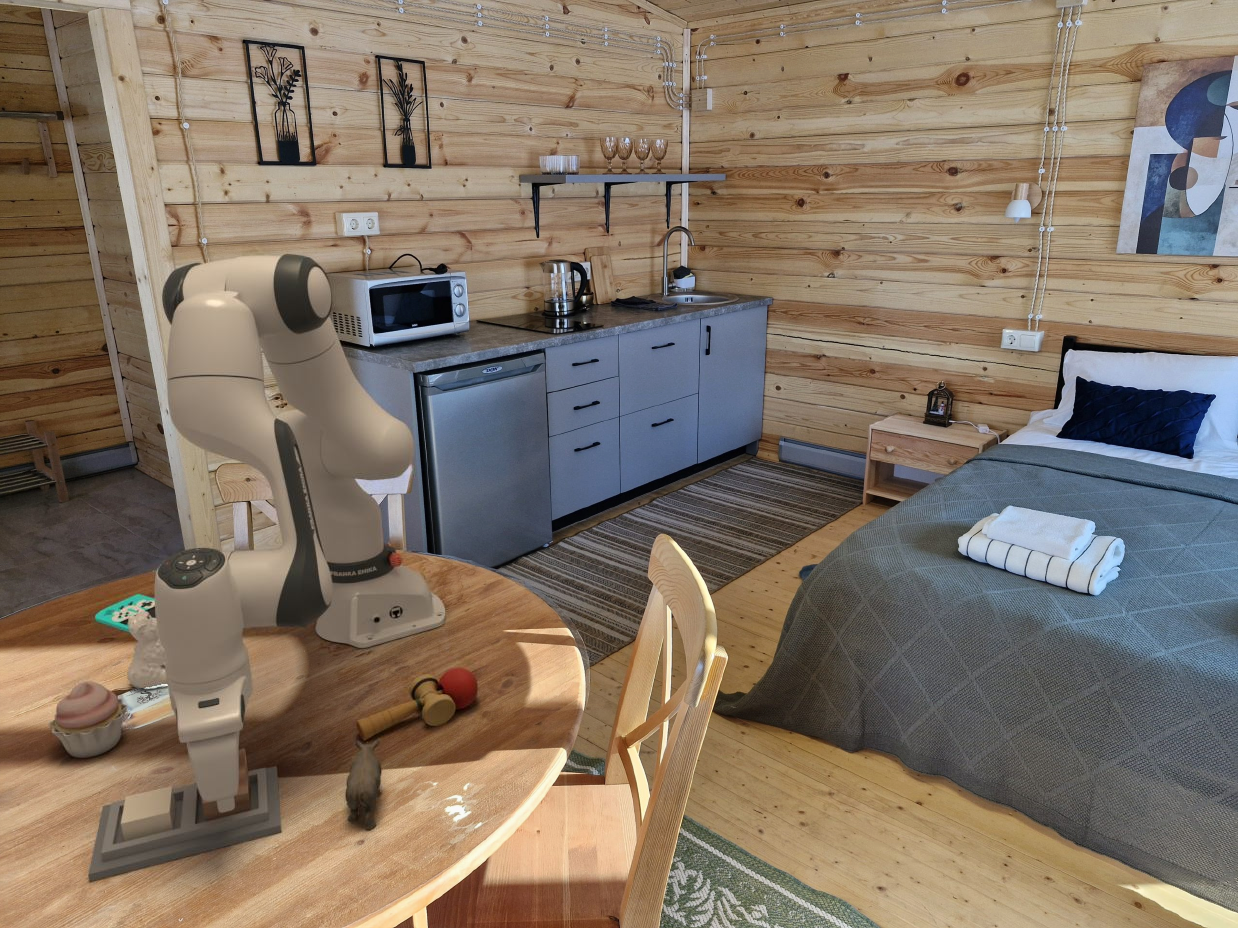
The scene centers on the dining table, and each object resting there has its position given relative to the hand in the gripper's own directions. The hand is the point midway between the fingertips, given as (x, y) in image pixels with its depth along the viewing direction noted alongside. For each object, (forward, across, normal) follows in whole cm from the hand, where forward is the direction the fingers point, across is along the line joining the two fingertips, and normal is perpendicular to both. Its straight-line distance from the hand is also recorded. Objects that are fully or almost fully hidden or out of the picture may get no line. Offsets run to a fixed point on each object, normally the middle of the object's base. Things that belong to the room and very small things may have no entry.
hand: (227, 782), depth 104 cm
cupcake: (+4, -22, -17) cm, 28 cm away
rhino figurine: (+5, +3, +16) cm, 17 cm away
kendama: (+5, -11, +25) cm, 28 cm away
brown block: (+3, 0, 0) cm, 3 cm away
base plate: (+4, 0, -4) cm, 6 cm away
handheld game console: (+5, -62, -15) cm, 63 cm away
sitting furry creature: (+5, -37, -10) cm, 39 cm away
